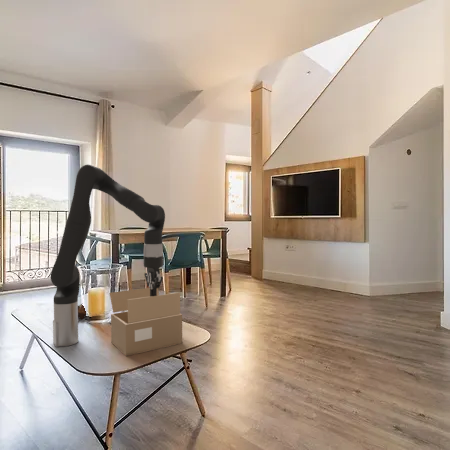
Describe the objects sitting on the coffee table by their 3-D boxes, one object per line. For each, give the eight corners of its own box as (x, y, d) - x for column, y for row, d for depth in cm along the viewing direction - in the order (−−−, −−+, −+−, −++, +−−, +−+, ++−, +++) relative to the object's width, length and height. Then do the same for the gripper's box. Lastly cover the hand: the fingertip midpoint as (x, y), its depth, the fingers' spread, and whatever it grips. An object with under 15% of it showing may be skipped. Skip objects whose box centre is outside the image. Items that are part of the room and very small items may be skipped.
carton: (126, 356, 134) (125, 324, 134) (111, 342, 149) (110, 314, 149) (182, 343, 148) (182, 314, 148) (163, 331, 163) (163, 305, 163)
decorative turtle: (67, 318, 184) (67, 303, 184) (95, 315, 194) (95, 300, 195) (74, 321, 177) (75, 305, 177) (103, 317, 187) (104, 302, 188)
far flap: (161, 304, 162) (161, 305, 162) (157, 286, 166) (156, 287, 166) (113, 312, 149) (113, 312, 150) (109, 292, 153) (109, 293, 153)
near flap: (128, 322, 135) (128, 323, 134) (127, 299, 135) (128, 299, 134) (179, 313, 147) (180, 313, 147) (179, 292, 147) (180, 292, 147)
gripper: (138, 253, 145) (138, 296, 146) (151, 257, 134) (151, 302, 135) (155, 252, 149) (155, 293, 150) (169, 256, 138) (169, 300, 139)
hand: (153, 298), depth 142 cm, fingers closed
